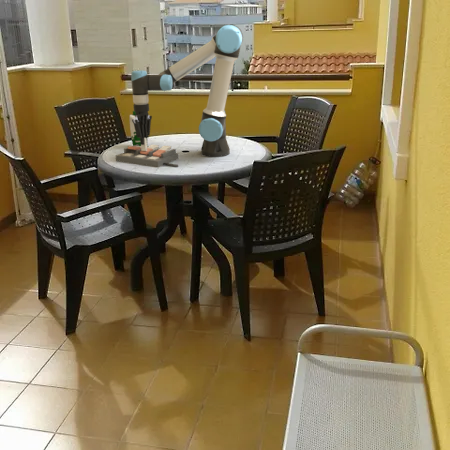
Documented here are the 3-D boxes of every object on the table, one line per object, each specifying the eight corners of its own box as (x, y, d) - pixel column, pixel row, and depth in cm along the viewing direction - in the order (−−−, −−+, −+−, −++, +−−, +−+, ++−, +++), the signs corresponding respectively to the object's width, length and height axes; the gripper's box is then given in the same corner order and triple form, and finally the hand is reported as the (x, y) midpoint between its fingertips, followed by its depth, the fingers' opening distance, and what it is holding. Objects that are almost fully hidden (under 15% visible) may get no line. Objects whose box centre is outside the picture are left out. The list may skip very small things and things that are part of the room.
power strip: (192, 160, 268) (191, 150, 266) (172, 169, 254) (172, 158, 252) (137, 153, 285) (136, 144, 283) (116, 161, 271) (115, 151, 270)
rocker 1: (146, 149, 279) (146, 147, 279) (134, 149, 271) (134, 147, 270) (140, 148, 281) (140, 146, 281) (127, 148, 273) (127, 146, 272)
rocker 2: (171, 148, 271) (170, 146, 270) (160, 156, 264) (159, 154, 263) (164, 147, 273) (164, 145, 272) (153, 155, 266) (152, 153, 265)
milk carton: (146, 145, 303) (143, 109, 295) (149, 148, 295) (146, 112, 287) (131, 146, 301) (127, 110, 293) (133, 150, 293) (129, 113, 285)
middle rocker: (158, 147, 275) (158, 145, 274) (147, 154, 267) (146, 152, 267) (152, 146, 277) (151, 144, 276) (140, 153, 269) (139, 151, 269)
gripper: (143, 101, 267) (146, 147, 276) (126, 104, 257) (130, 152, 265) (155, 101, 263) (158, 148, 272) (138, 105, 253) (142, 154, 262)
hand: (144, 150), depth 269 cm, fingers closed
